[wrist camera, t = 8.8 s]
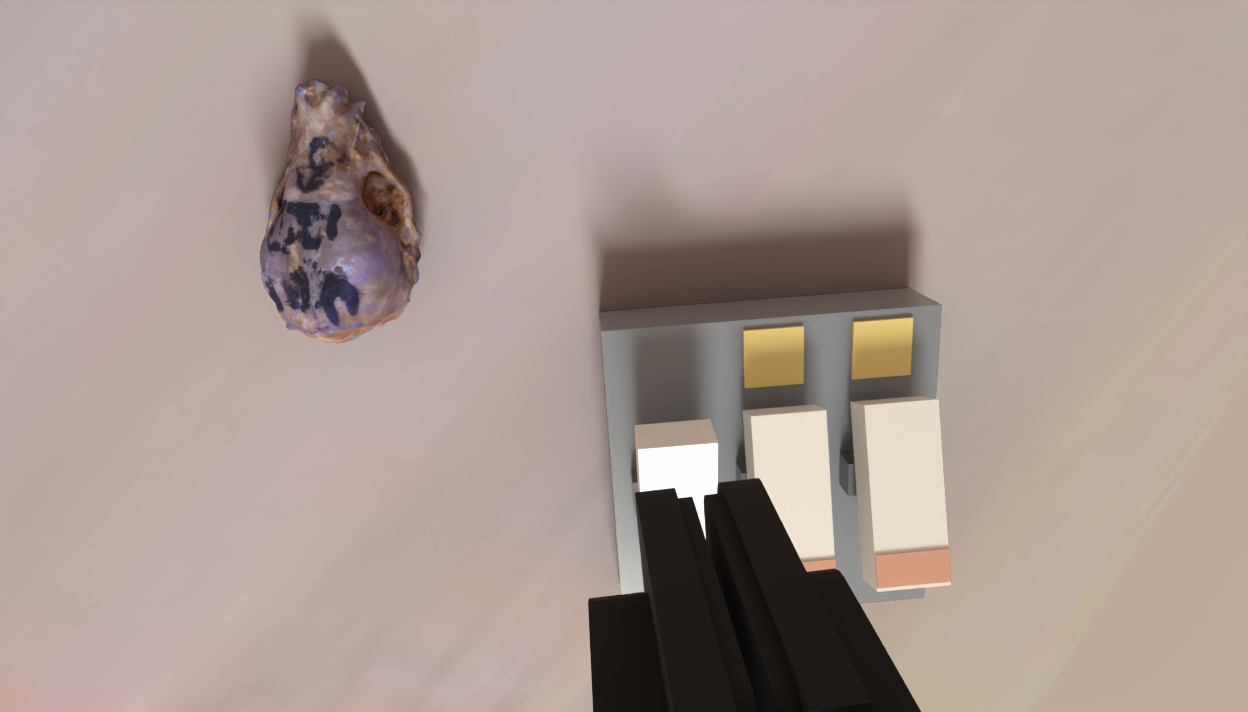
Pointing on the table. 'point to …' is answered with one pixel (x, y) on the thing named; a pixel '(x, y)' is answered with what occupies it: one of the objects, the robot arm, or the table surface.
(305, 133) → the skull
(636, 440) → the rocker
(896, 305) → the switch unit
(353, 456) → the table surface
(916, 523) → the block
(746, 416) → the rocker
